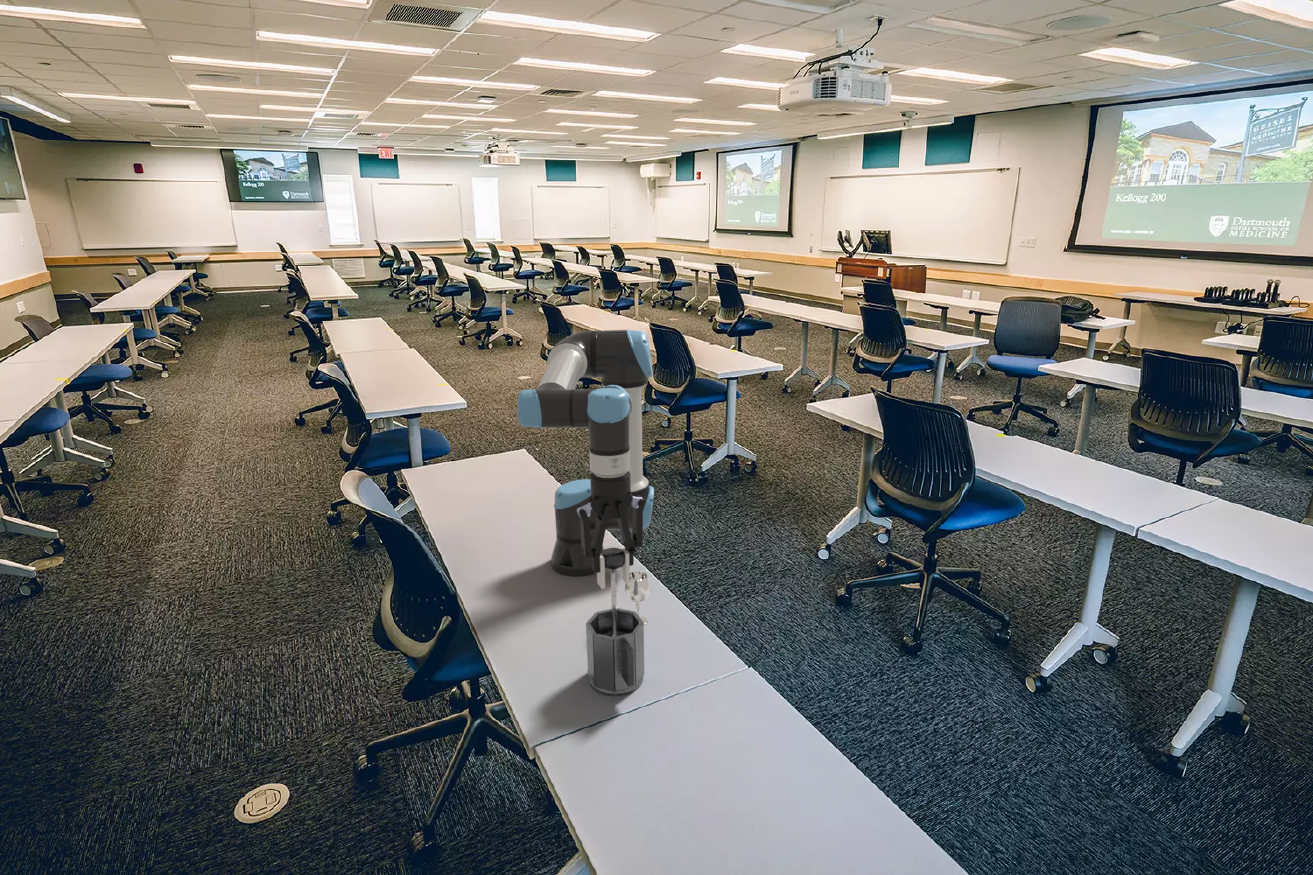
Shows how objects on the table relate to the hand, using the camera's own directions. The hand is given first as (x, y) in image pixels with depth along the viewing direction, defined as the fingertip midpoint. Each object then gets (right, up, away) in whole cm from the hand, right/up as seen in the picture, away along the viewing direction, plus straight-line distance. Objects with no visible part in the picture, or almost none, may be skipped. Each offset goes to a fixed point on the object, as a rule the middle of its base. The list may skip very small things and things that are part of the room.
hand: (613, 582), depth 136 cm
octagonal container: (+1, -22, +5) cm, 22 cm away
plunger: (0, -13, +4) cm, 14 cm away
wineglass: (+4, -15, +27) cm, 31 cm away
